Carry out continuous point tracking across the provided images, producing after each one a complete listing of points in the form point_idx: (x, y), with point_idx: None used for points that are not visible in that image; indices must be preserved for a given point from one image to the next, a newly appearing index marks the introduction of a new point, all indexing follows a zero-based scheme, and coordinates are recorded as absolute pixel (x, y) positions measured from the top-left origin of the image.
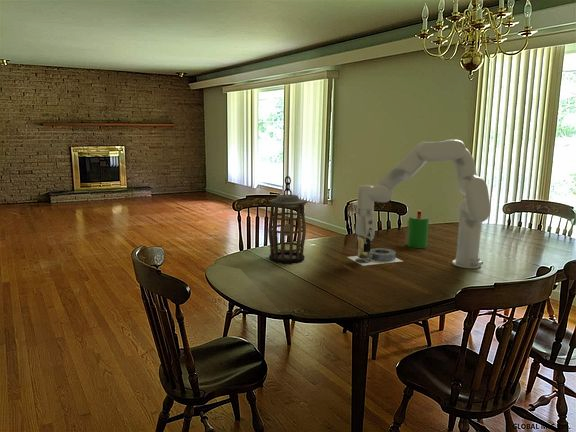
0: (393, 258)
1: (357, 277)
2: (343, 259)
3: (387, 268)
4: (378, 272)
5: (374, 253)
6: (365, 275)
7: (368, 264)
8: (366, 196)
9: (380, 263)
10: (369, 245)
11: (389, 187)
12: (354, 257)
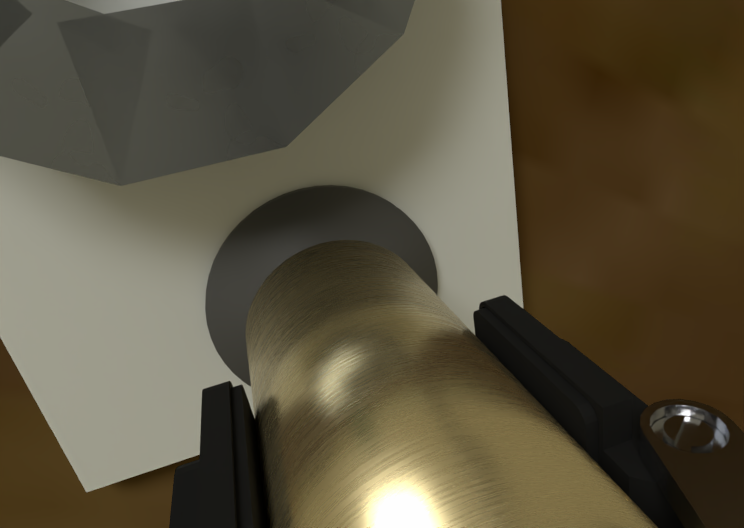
0: None
1: (738, 421)
2: (119, 506)
3: (620, 10)
4: (704, 197)
5: (279, 97)
6: (725, 349)
7: (501, 263)
8: None
9: (497, 64)
10: (636, 400)
11: None
12: (115, 389)
